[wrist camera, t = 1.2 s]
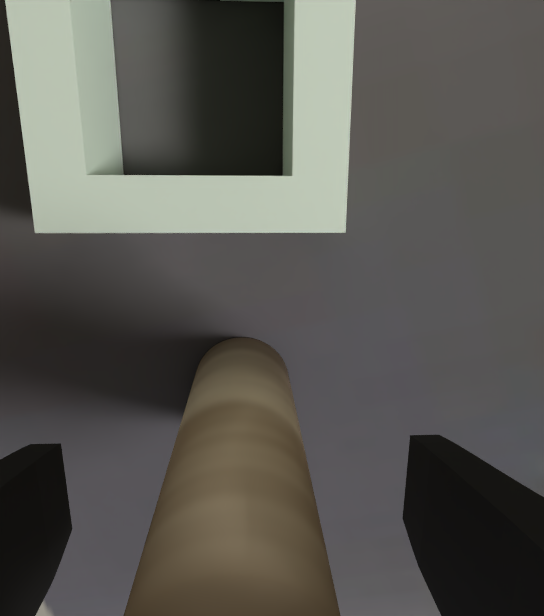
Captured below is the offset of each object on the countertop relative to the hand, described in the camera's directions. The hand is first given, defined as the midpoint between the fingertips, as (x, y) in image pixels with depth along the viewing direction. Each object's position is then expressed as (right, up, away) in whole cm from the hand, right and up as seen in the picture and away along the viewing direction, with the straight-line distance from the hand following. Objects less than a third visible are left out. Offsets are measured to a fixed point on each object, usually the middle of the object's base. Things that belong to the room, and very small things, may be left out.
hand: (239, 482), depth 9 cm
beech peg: (0, +1, +5) cm, 5 cm away
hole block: (-1, +9, +3) cm, 10 cm away
